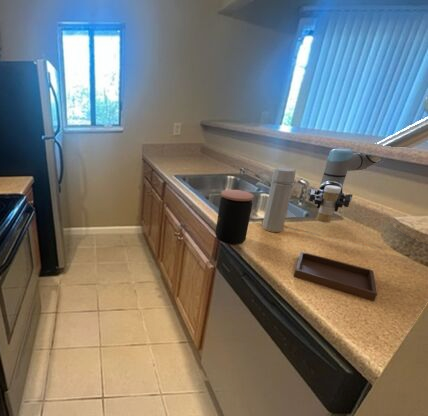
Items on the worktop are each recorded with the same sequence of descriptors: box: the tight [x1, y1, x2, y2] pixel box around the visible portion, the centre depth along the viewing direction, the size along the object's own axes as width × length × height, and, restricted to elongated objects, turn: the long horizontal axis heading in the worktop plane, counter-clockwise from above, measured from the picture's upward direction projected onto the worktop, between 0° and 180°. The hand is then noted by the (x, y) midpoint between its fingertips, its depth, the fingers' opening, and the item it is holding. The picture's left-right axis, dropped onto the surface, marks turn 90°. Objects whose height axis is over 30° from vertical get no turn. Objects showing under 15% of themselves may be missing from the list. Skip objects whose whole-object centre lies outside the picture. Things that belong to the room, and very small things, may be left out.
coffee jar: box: [214, 189, 255, 245], centre depth 102 cm, size 11×11×18 cm
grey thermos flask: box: [262, 166, 297, 233], centre depth 107 cm, size 9×8×25 cm
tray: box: [293, 251, 378, 302], centre depth 81 cm, size 18×14×2 cm
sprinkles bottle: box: [315, 185, 341, 224], centre depth 101 cm, size 5×5×14 cm
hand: (327, 206), depth 97 cm, fingers closed on sprinkles bottle, 4 cm apart
